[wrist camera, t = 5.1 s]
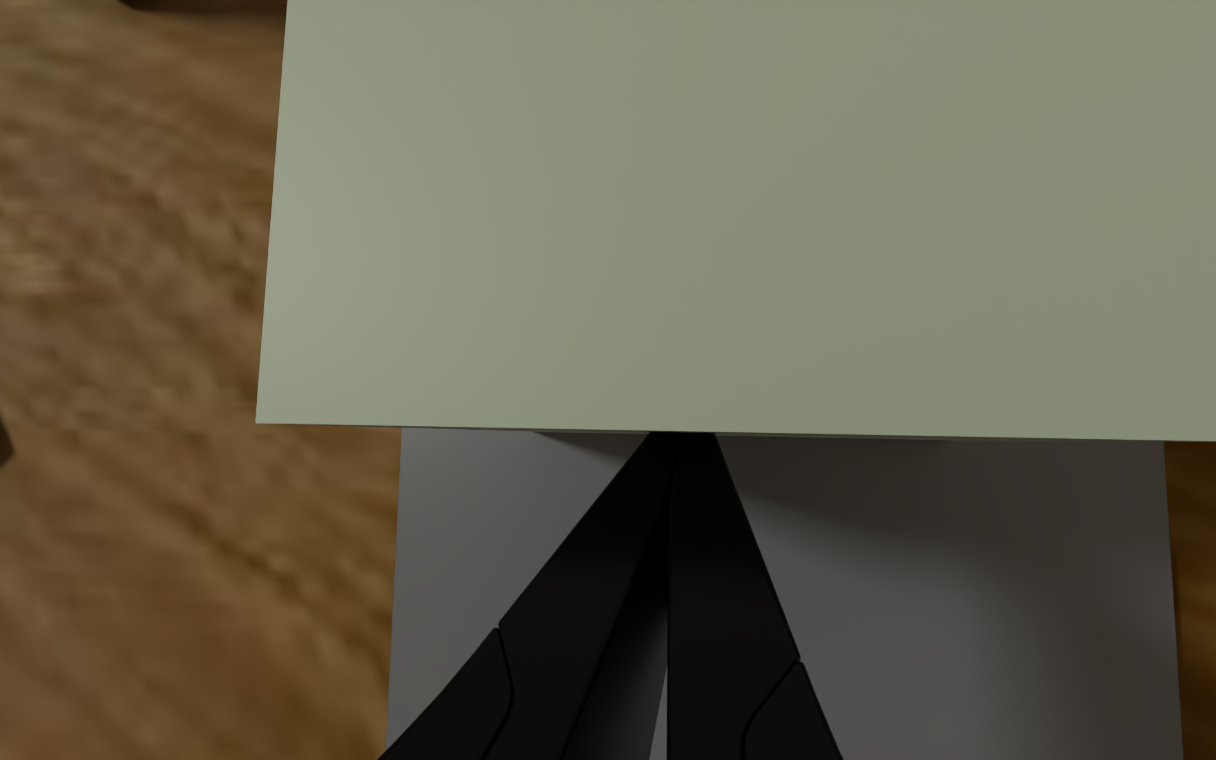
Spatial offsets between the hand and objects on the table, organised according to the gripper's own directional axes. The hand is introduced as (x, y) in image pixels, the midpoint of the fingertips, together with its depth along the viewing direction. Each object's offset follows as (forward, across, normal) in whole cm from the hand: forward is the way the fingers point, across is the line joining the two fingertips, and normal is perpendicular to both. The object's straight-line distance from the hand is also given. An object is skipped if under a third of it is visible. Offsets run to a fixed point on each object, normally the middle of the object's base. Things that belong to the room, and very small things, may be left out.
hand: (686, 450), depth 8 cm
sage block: (+8, 0, +1) cm, 9 cm away
